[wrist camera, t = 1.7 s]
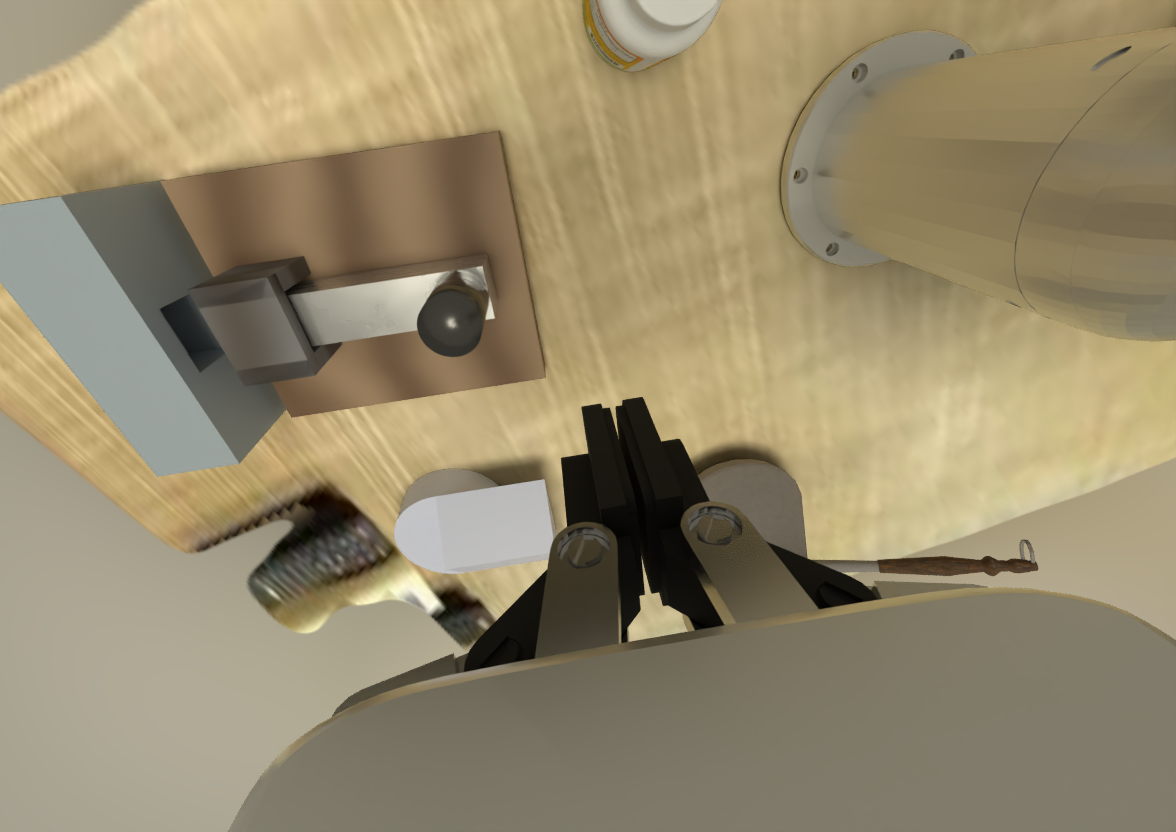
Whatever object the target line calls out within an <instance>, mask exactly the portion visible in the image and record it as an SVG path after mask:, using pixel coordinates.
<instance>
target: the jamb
mask: <svg viewBox="0 0 1176 832" xmlns="http://www.w3.org/2000/svg"><path fill="white" fill-rule="evenodd" d="M162 181H164V180H162ZM212 277H213V275H212V274H211V272H210V270H209V268H208V267H207V265H206V263H205V261H204V259H203V258H202V256H201V254H200V252H199V250H198V249H197V247H196V245H195V243H194V241H193V240H192V238H191V236H190V234H189V232H188V231H187V229H186V227H185V225H184V223H183V222H182V220H181V218H180V216H179V214H178V213H177V211H176V209H175V207H174V205H173V204H172V202H171V200H170V198H169V196H168V195H167V193H166V191H165V189H164V187H163V186H162V184H161V182H160V181H156V182H149V183H142V184H135V185H128V186H121V187H115V188H108V189H101V190H94V191H87V192H80V193H74V194H67V195H61V196H54V197H48V198H41V199H35V200H29V201H22V202H16V203H9V204H3V205H0V283H1V284H2V285H3V286H4V288H5V289H6V290H7V291H8V293H9V294H10V295H11V296H12V297H13V299H14V300H15V301H16V302H17V304H18V305H19V306H20V307H21V309H22V310H23V311H24V312H25V314H26V315H27V316H28V317H29V319H30V320H31V321H32V322H33V323H34V325H35V326H36V327H37V328H38V330H39V331H40V332H41V333H42V335H43V336H44V337H45V338H46V340H47V341H48V342H49V343H50V345H51V346H52V347H53V348H54V349H55V351H56V352H57V353H58V354H59V356H60V357H61V358H62V359H63V361H64V362H65V363H66V364H67V366H68V367H69V368H70V369H71V371H72V372H73V373H74V374H75V375H76V377H77V378H78V379H79V380H80V382H81V383H82V384H83V385H84V387H85V388H86V389H87V390H88V392H89V393H90V394H91V395H92V397H93V398H94V399H95V400H96V401H97V403H98V404H99V405H100V406H101V408H102V409H103V410H104V411H105V413H106V414H107V415H108V416H109V418H110V419H111V420H112V421H113V423H114V424H115V425H116V426H117V427H118V429H119V430H120V431H121V432H122V434H123V435H124V436H125V437H126V439H127V440H128V441H129V442H130V444H131V445H132V446H133V447H134V449H135V450H136V451H137V452H138V453H139V455H140V456H141V457H142V458H143V460H144V461H145V462H146V463H147V465H148V466H149V467H150V468H151V470H152V471H153V472H154V473H155V475H156V476H157V477H158V476H164V475H170V474H177V473H183V472H189V471H196V470H202V469H209V468H215V467H221V466H228V465H234V464H240V462H241V461H242V460H243V459H244V458H245V457H246V455H247V454H248V453H249V452H250V451H251V450H252V448H253V447H254V446H255V445H256V444H257V443H258V441H259V440H260V439H261V438H262V437H263V436H264V434H265V433H266V432H267V431H268V430H269V429H270V428H271V426H272V425H273V424H274V423H275V422H276V421H277V419H278V418H279V417H280V416H281V415H282V414H283V412H284V411H285V410H286V407H285V405H284V403H283V401H282V400H281V398H280V396H279V394H278V392H277V391H276V389H275V387H274V385H273V383H272V382H271V383H265V384H258V385H252V386H244V384H243V383H242V381H241V379H240V378H239V376H238V374H237V372H236V371H235V369H234V367H233V366H232V364H231V362H230V361H229V359H228V357H227V356H226V354H225V352H224V351H223V349H222V347H221V346H220V344H219V342H218V341H217V339H216V337H215V336H214V334H213V332H212V330H211V329H210V327H209V325H208V324H207V322H206V320H205V319H204V317H203V315H202V314H201V312H200V310H199V309H198V307H197V305H196V304H195V302H194V300H193V299H192V297H191V295H190V293H189V292H188V289H190V288H192V287H194V286H196V285H198V284H200V283H202V282H204V281H206V280H208V279H210V278H212Z"/></svg>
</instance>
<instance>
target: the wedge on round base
mask: <svg viewBox="0 0 1176 832" xmlns="http://www.w3.org/2000/svg"><path fill="white" fill-rule="evenodd" d="M556 536H557V533H556V529H555V524H554V520H553V515H552V511H551V506H550V502H549V497H548V493H547V488H546V484H545V479H543V480H536V481H530V482H524V483H517V484H511V485H505V486H498V485H497V484H496V483H495V482H494V481H492V480H491V479H489V478H488V477H486V476H484V475H482V474H480V473H477V472H474V471H469V470H465V469H442V470H438V471H434V472H431V473H428V474H426V475H424V476H422V477H421V478H419V479H418V480H416V481H415V482H414V483H413V484H412V485H411V486H410V488H409V489H408V491H407V493H406V495H405V498H404V501H403V504H402V507H401V510H400V513H399V516H398V519H397V522H396V525H395V529H394V537H395V541H396V544H397V546H398V548H399V549H400V551H401V552H402V553H403V554H404V555H405V556H406V557H407V558H408V559H409V560H410V561H412V562H413V563H415V564H416V565H418V566H420V567H423V568H425V569H428V570H431V571H435V572H440V573H449V574H458V573H467V572H473V571H479V570H485V569H492V568H498V567H504V566H510V565H516V564H523V563H529V562H535V561H541V560H548V559H549V554H550V548H551V545H552V542H553V540H554V538H555V537H556Z"/></svg>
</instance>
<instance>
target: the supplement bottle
mask: <svg viewBox="0 0 1176 832" xmlns="http://www.w3.org/2000/svg"><path fill="white" fill-rule="evenodd" d="M721 2H722V0H583V20H584V25H585V29H586V32H587V35H588V38H589V40H590V42H591V44H592V46H593V48H594V49H595V51H596V52H597V54H598V55H599V56H600V57H601V58H602V59H603V60H604V61H605V62H606V63H608V64H609V65H611V66H612V67H614V68H617V69H619V70H622V71H628V72H635V71H641V70H645V69H648V68H650V67H652V66H654V65H656V64H658V63H660V62H663V61H665V60H667V59H669V58H671V57H673V56H676V55H677V54H679V53H681V52H683V51H684V50H686V49H687V48H689V47H690V46H691V45H693V44H694V43H695V42H696V41H697V40H698V39H699V38H700V37H701V36H702V35H703V34H704V33H705V31H706V30H707V29H708V27H709V26H710V24H711V23H712V21H713V19H714V18H715V16H716V14H717V12H718V10H719V7H720V4H721Z"/></svg>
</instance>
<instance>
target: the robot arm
mask: <svg viewBox="0 0 1176 832" xmlns="http://www.w3.org/2000/svg"><path fill="white" fill-rule="evenodd" d="M853 70H854V76H853V78H852V73H853ZM796 171H797V176H796V177H795V178H794V174H795V172H796ZM781 200H782V206H783V210H784V214H785V219H786V221H787V223H788V225H789V227H790V230H791V232H792V234H793V235H794V237H795V238H796V239H797V240H798V242H799V243H800V244H801V245H802V247H804V248H805V249H806V250H808V251H809V252H810V253H812V254H813V255H814V256H816V257H818V258H820V259H822V260H824V261H826V262H829V263H833V264H836V265H840V266H848V267H862V266H869V265H875V264H879V263H882V262H885V261H887V260H890V259H894V260H897V261H900V262H902V263H905V264H908V265H910V266H913V267H915V268H918V269H921V270H923V271H926V272H929V273H931V274H934V275H936V276H939V277H942V278H944V279H947V280H950V281H952V282H955V283H958V284H960V285H963V286H965V287H968V288H971V289H973V290H976V291H979V292H981V293H984V294H986V295H989V296H992V297H994V298H997V299H1000V300H1002V301H1005V302H1007V303H1010V304H1013V305H1015V306H1018V307H1021V308H1024V309H1026V310H1029V311H1031V312H1034V313H1036V314H1039V315H1042V316H1044V317H1047V318H1051V319H1054V320H1057V321H1059V322H1062V323H1065V324H1067V325H1070V326H1073V327H1075V328H1078V329H1081V330H1085V331H1088V332H1091V333H1095V334H1098V335H1102V336H1107V337H1112V338H1117V339H1125V340H1137V341H1171V340H1176V26H1175V27H1168V28H1161V29H1154V30H1148V31H1141V32H1134V33H1128V34H1121V35H1114V36H1108V37H1101V38H1094V39H1087V40H1081V41H1074V42H1067V43H1061V44H1054V45H1047V46H1041V47H1034V48H1027V49H1020V50H1014V51H1007V52H1000V53H994V54H987V55H980V56H978V55H977V53H976V52H975V51H974V50H973V49H972V48H971V46H970V45H968V44H967V43H965V42H964V41H962V40H960V39H959V38H957V37H956V36H954V35H950V34H947V33H943V32H939V31H935V30H934V31H911V32H907V33H902V34H898V35H893V36H891V37H888V38H885V39H883V40H880V41H878V42H875V43H872V44H870V45H869V46H867V47H866V48H864V49H862V50H861V51H859V52H857V53H856V54H854V55H852V56H851V57H850V58H849V59H847V60H846V61H845V62H844V63H843V64H842V65H840V66H839V67H838V68H837V69H836V70H835V71H833V72H832V73H831V74H830V76H829V77H828V78H827V79H826V80H825V81H824V82H823V84H822V85H821V86H820V87H819V88H818V89H817V91H816V92H815V93H814V95H813V96H812V98H811V99H810V101H809V102H808V104H807V105H806V107H805V109H804V110H803V112H802V113H801V115H800V117H799V119H798V121H797V124H796V126H795V128H794V130H793V132H792V135H791V137H790V140H789V143H788V147H787V150H786V154H785V157H784V161H783V169H782V176H781ZM827 247H828V248H827ZM582 414H583V421H584V427H585V434H586V440H587V447H588V454H582V455H576V456H570V457H563V458H561V464H562V475H563V486H564V496H565V507H566V518H567V527H566V528H565V529H563V530H562V531H561V532H559V533H558V535H557V536H556V537H555V538H554V540H553V542H552V545H551V548H550V554H549V561H548V568H547V570H546V571H545V572H544V573H543V574H542V575H541V576H540V577H539V578H538V579H537V580H536V581H535V582H534V583H533V584H532V585H531V586H530V587H529V588H528V589H527V590H526V591H525V592H524V593H523V594H522V595H521V596H520V597H519V598H518V600H517V601H516V602H515V603H514V604H513V605H512V606H511V607H510V608H509V609H508V610H507V611H506V612H505V613H504V614H503V615H502V616H501V617H500V618H499V619H498V620H497V621H496V622H495V623H494V624H493V625H492V626H491V627H490V628H489V629H488V630H487V631H486V632H485V633H484V634H483V635H482V636H481V637H480V638H479V639H478V640H477V641H476V643H475V644H474V645H473V647H472V648H471V649H470V651H469V653H467V654H465V655H462V656H460V657H457V658H456V657H455V655H454V653H453V654H450V655H448V656H445V657H443V658H440V659H438V660H435V661H433V662H430V663H428V664H425V665H423V666H420V667H418V668H415V669H413V670H410V671H408V672H405V673H402V674H400V675H397V676H395V677H392V678H390V679H388V680H385V681H382V682H380V683H377V684H375V685H372V686H370V687H367V688H365V689H362V690H360V691H359V692H357V693H355V694H353V695H351V696H350V697H348V698H347V699H346V700H345V701H344V702H343V703H342V704H341V705H340V706H339V707H338V708H337V709H336V711H335V712H334V714H333V715H332V717H331V718H329V719H327V720H326V721H324V722H322V723H320V724H319V725H317V726H316V727H314V728H313V729H312V730H310V731H308V732H307V733H305V734H304V735H303V736H301V737H300V738H299V739H297V740H296V741H295V742H293V743H292V744H291V745H289V746H288V747H287V748H286V749H285V750H284V751H283V752H282V753H281V754H280V755H279V756H278V757H277V758H276V759H275V760H274V761H273V762H272V763H271V764H270V765H269V767H268V768H267V769H266V770H265V772H264V773H263V774H262V775H261V777H260V778H259V780H258V781H257V783H256V784H255V786H254V787H253V789H252V790H251V792H250V793H249V795H248V796H247V798H246V800H245V801H244V803H243V805H242V807H241V808H240V810H239V812H238V814H237V816H236V817H235V820H234V821H233V823H232V825H231V827H230V829H229V831H228V832H1176V640H1175V639H1173V638H1172V637H1170V636H1169V635H1167V634H1166V633H1164V632H1162V631H1161V630H1159V629H1157V628H1156V627H1154V626H1152V625H1151V624H1149V623H1148V622H1146V621H1144V620H1142V619H1140V618H1138V617H1136V616H1134V615H1133V614H1131V613H1128V612H1127V611H1124V610H1122V609H1119V608H1117V607H1114V606H1111V605H1109V604H1106V603H1103V602H1099V601H1096V600H1092V599H1088V598H1084V597H1079V596H1075V595H1071V594H1064V593H1057V592H1050V591H1043V590H1037V589H1026V588H1007V587H993V588H989V587H986V586H979V585H974V584H947V583H917V582H889V581H888V582H887V581H874V583H873V586H865V585H864V584H863V583H861V582H859V581H857V580H856V579H854V578H852V577H850V576H848V575H846V574H843V573H841V572H838V571H836V570H834V569H831V568H829V567H827V566H824V565H822V564H819V563H817V562H815V561H812V560H810V559H807V558H805V557H803V556H800V555H798V554H795V553H793V552H791V551H788V550H786V549H784V548H781V547H779V546H776V545H774V544H772V543H769V542H767V541H765V540H764V538H763V537H762V536H761V535H760V533H759V532H758V531H757V530H756V528H755V527H754V526H753V524H752V523H751V522H750V521H749V519H748V518H747V517H746V516H745V515H744V514H743V513H742V512H741V511H740V510H739V509H737V508H735V507H734V506H732V505H730V504H726V503H722V502H715V501H710V500H709V498H708V496H707V494H706V491H705V489H704V487H703V485H702V483H701V481H700V479H699V477H698V475H697V473H696V471H695V468H694V466H693V464H692V462H691V460H690V458H689V456H688V454H687V452H686V450H685V447H684V445H683V443H682V442H681V440H680V439H674V440H668V441H662V442H661V440H660V438H659V435H658V433H657V430H656V428H655V425H654V423H653V421H652V418H651V416H650V413H649V411H648V408H647V406H646V404H645V401H644V399H643V397H639V398H632V399H626V400H623V401H622V406H616V418H617V427H618V435H617V432H616V428H615V424H614V421H613V417H612V414H611V410H610V408H603V409H602V405H601V404H595V405H589V406H583V407H582ZM618 436H619V439H618ZM641 556H642V557H641ZM642 560H643V564H644V568H645V572H646V575H647V579H648V583H649V587H650V591H651V593H652V594H653V593H658V592H659V593H660V597H661V601H662V604H663V606H667V605H668V606H670V607H672V608H674V609H675V610H677V611H679V612H681V613H682V614H683V620H684V623H685V626H686V628H687V630H688V632H684V633H678V634H672V635H666V636H660V637H655V638H649V639H643V640H637V641H632V642H629V630H628V626H629V625H630V624H631V622H632V621H633V620H634V618H635V617H636V616H637V614H638V613H639V612H640V610H641V608H640V598H639V596H641V595H645V591H644V580H643V569H642Z"/></svg>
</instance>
